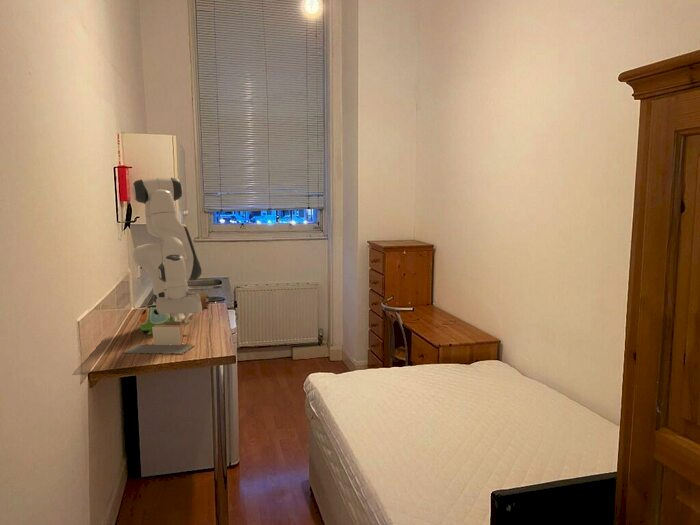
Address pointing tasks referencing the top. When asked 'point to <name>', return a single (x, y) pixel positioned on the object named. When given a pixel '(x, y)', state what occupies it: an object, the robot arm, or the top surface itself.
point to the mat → (158, 349)
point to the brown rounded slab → (204, 299)
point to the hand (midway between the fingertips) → (180, 323)
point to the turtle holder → (152, 318)
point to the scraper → (180, 321)
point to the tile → (167, 334)
